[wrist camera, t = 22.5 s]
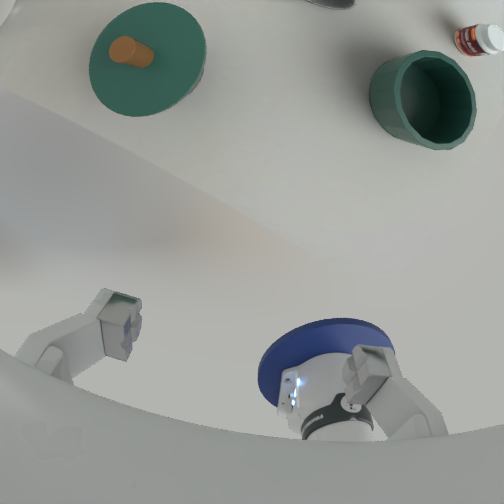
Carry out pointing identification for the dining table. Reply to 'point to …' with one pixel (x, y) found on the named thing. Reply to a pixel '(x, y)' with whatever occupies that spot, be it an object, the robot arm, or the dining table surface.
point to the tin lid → (147, 59)
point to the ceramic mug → (336, 3)
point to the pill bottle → (480, 40)
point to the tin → (424, 100)
